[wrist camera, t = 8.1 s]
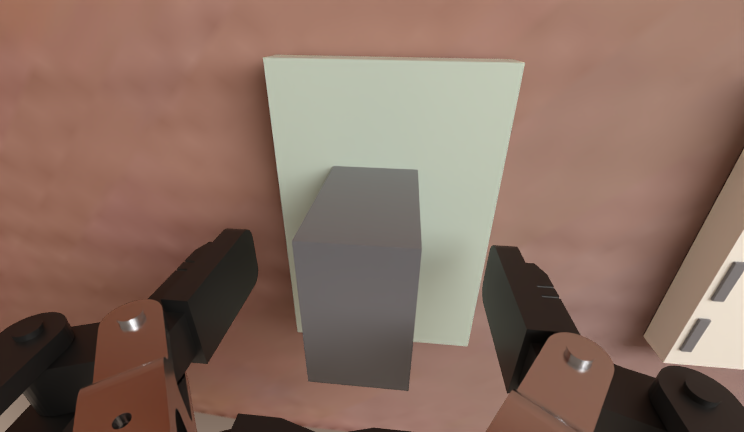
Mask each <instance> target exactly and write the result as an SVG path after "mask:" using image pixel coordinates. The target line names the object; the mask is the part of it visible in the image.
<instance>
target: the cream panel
mask: <svg viewBox="0 0 744 432" xmlns="http://www.w3.org/2000/svg"><path fill="white" fill-rule="evenodd" d="M643 337H644V338H645V339H646V341H647V342H648V343H649V345H650V346H651V347H652V349H653V350H654V351H655V353H656V354H657V355H658V356H659V358H660V359H661V360H662V362H663V363H672V364H684V365H696V366H708V367H720V368H732V369H743V370H744V149H743V151H742V153H741V155H740V157H739V159H738V161H737V163H736V164H735V166H734V168H733V170H732V172H731V174H730V176H729V177H728V179H727V181H726V183H725V185H724V187H723V189H722V191H721V192H720V194H719V196H718V198H717V200H716V202H715V204H714V205H713V207H712V209H711V211H710V213H709V215H708V217H707V219H706V220H705V222H704V224H703V226H702V228H701V230H700V232H699V233H698V235H697V237H696V239H695V241H694V243H693V245H692V246H691V248H690V250H689V252H688V254H687V256H686V258H685V260H684V261H683V263H682V265H681V267H680V269H679V271H678V273H677V274H676V276H675V278H674V280H673V282H672V284H671V286H670V288H669V289H668V291H667V293H666V295H665V297H664V299H663V301H662V302H661V304H660V306H659V308H658V310H657V312H656V314H655V316H654V317H653V319H652V321H651V323H650V325H649V327H648V329H647V330H646V332H645V334H644V336H643Z"/></svg>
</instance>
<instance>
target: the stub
mask: <svg viewBox="0 0 744 432" xmlns="http://www.w3.org/2000/svg"><path fill="white" fill-rule="evenodd" d="M263 62H264V70H265V78H266V85H267V93H268V101H269V109H270V117H271V125H272V133H273V141H274V149H275V157H276V165H277V172H278V180H279V188H280V196H281V204H282V212H283V220H284V228H285V236H286V244H287V251H288V259H289V267H290V275H291V283H292V291H293V299H294V307H295V315H296V323H297V330H298V332H303V341H304V349H305V358H306V366H307V375H308V381H310V382H320V383H331V384H341V385H352V386H362V387H373V388H383V389H394V390H404V391H408V390H409V380H410V369H411V359H412V348H413V342H422V343H434V344H446V345H458V346H468V342H469V337H470V332H471V327H472V322H473V317H474V312H475V307H476V302H477V297H478V292H479V287H480V282H481V277H482V272H483V268H484V263H485V258H486V253H487V248H488V243H489V238H490V233H491V228H492V223H493V218H494V213H495V208H496V203H497V198H498V193H499V188H500V184H501V179H502V174H503V169H504V164H505V159H506V154H507V149H508V144H509V139H510V134H511V129H512V124H513V119H514V114H515V109H516V104H517V99H518V95H519V90H520V85H521V80H522V75H523V70H524V65H525V63H524V62H521V61H518V60H514V59H474V58H421V57H369V56H316V55H273V56H268V57H263Z"/></svg>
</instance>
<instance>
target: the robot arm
mask: <svg viewBox="0 0 744 432" xmlns="http://www.w3.org/2000/svg"><path fill="white" fill-rule="evenodd" d="M257 277H258V265H257V259H256V254H255V248H254V243H253V237H252V234H251V232H250V231H249V230H243V229H225V230H223V232H222V233H221V234H220V235H219V236H218V237H217V238H216V239H215V240H214V241H213V242H208V243H207V244H205V245H203V246H202V247H200V248H198V249H196V250H195V251H194V252H193V253H192V254H191V255H190V256H189V257H188V258H187V259H186V260H185V262H183V263H182V264H181V265H180V266H179V267H178V268H177V271H175V272H174V273H173V274H172V275H171V276H170V277H169V278H168V279H167V280H166V281H165V282H164V283H163V284H162V285H161V286H160V287H159V288H158V289H157V290H156V291H155V292H154V293H153V294H152V295H151V296H150V297H149V298H148V299H142V300H136V301H132V302H129V303H126V304H124V305H122V306H120V307H118V308H116V309H114V310H113V311H111V312H110V313H109V314H108V315H106V316H105V317H104V318H103V320H102V321H101V322H99V323H93V324H86V325H80V326H74V327H71V326H70V324H69V323H68V321H67V319H66V317H65V316H64V315H63V314H61V313H57V312H48V313H41V314H37V315H34V316H31V317H28V318H25V319H23V320H21V321H18V322H17V323H15V324H13V325H11V326H10V327H8V328H6V329H5V330H4V331H2V332H1V333H0V415H1V414H2V413H3V412H4V411H5V410H6V409H7V408H8V407H9V406H10V405H11V404H12V403H13V402H14V401H15V400H16V399H17V398H18V397H19V396H20V395H21V394H22V393H23V394H24V395H25V397H26V398H27V400H28V401H29V402H30V404H31V405H30V406H29V407H28V408H27V409H26V410H25V411H24V412H23V413H22V414H21V415H20V416H19V417H18V418H17V420H16V421H15V422H14V423H13V424H12V425H11V426H10V427H9V428H8V429H7V430H6V431H5V432H197V429H196V423H195V418H194V411H193V405H192V399H191V393H190V387H189V381H188V376H187V373H186V370H187V368H188V367H189V365H190V364H191V362H192V363H203V364H208V362H209V360H210V359H211V357H212V355H213V354H214V352H215V350H216V349H217V347H218V345H219V344H220V342H221V340H222V339H223V337H224V335H225V334H226V332H227V330H228V329H229V327H230V325H231V324H232V322H233V320H234V319H235V317H236V316H237V314H238V312H239V311H240V309H241V307H242V306H243V304H244V302H245V301H246V299H247V297H248V296H249V294H250V292H251V291H252V289H253V287H254V286H255V284H256V281H257ZM553 287H554V286H553V285H552V283H551V281H550V279H549V277H548V275H547V274H546V273H545V272H544V271H542V270H541V269H540V268H539V267H538V266H537V265H535V264H534V263H525V261H524V259H523V257H522V255H521V253H520V251H519V249H518V247H513V246H496V245H493V246H492V247H491V248H490V252H489V257H488V261H487V266H486V271H485V276H484V281H483V287H482V297H483V304H484V308H485V311H486V315H487V319H488V323H489V326H490V330H491V334H492V338H493V342H494V345H495V349H496V353H497V357H498V361H499V364H500V368H501V372H502V376H503V379H504V383H505V387H506V391H507V393H510V394H509V395H508V397H507V398H506V400H505V401H504V403H503V405H502V406H501V408H500V409H499V411H498V413H497V414H496V416H495V417H494V419H493V421H492V422H491V424H490V426H489V427H488V429H487V430H486V432H744V407H743V406H742V404H741V403H740V402H739V401H738V399H737V398H736V397H735V396H734V395H733V394H732V393H731V392H730V391H729V390H728V389H726V388H725V387H724V386H722V385H721V384H720V383H718V382H717V381H715V380H714V379H712V378H710V377H708V376H707V375H705V374H702V373H700V372H698V371H695V370H693V369H689V368H686V367H681V366H668V367H664V368H663V369H661V371H660V372H659V373H658V375H657V377H656V378H654V377H651V376H648V375H645V374H641V373H638V372H635V371H632V370H629V369H626V368H623V367H620V366H617V365H615V364H613V361H612V360H611V358H610V356H609V355H608V354H607V352H606V351H605V350H604V349H603V348H601V347H600V346H599V345H598V344H596V343H595V342H593V341H592V340H590V339H588V338H586V337H583V336H581V335H580V333H579V332H578V330H577V328H576V326H575V324H574V323H573V321H572V319H571V317H570V315H569V314H568V312H567V310H566V308H565V306H564V304H563V303H562V301H561V299H559V295H558V294H557V292H556V290H555V289H554V288H553ZM222 432H314V431H312V430H309V429H307V428H304V427H302V426H299V425H297V424H294V423H292V422H290V421H287V420H285V419H282V418H276V417H266V416H256V415H247V414H238V415H237V417H236V420H235V422H234V424H233V426H232V429H229V430H225V431H222ZM350 432H409V431H400V430H390V429H381V428H369V429H363V430H357V431H350Z"/></svg>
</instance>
